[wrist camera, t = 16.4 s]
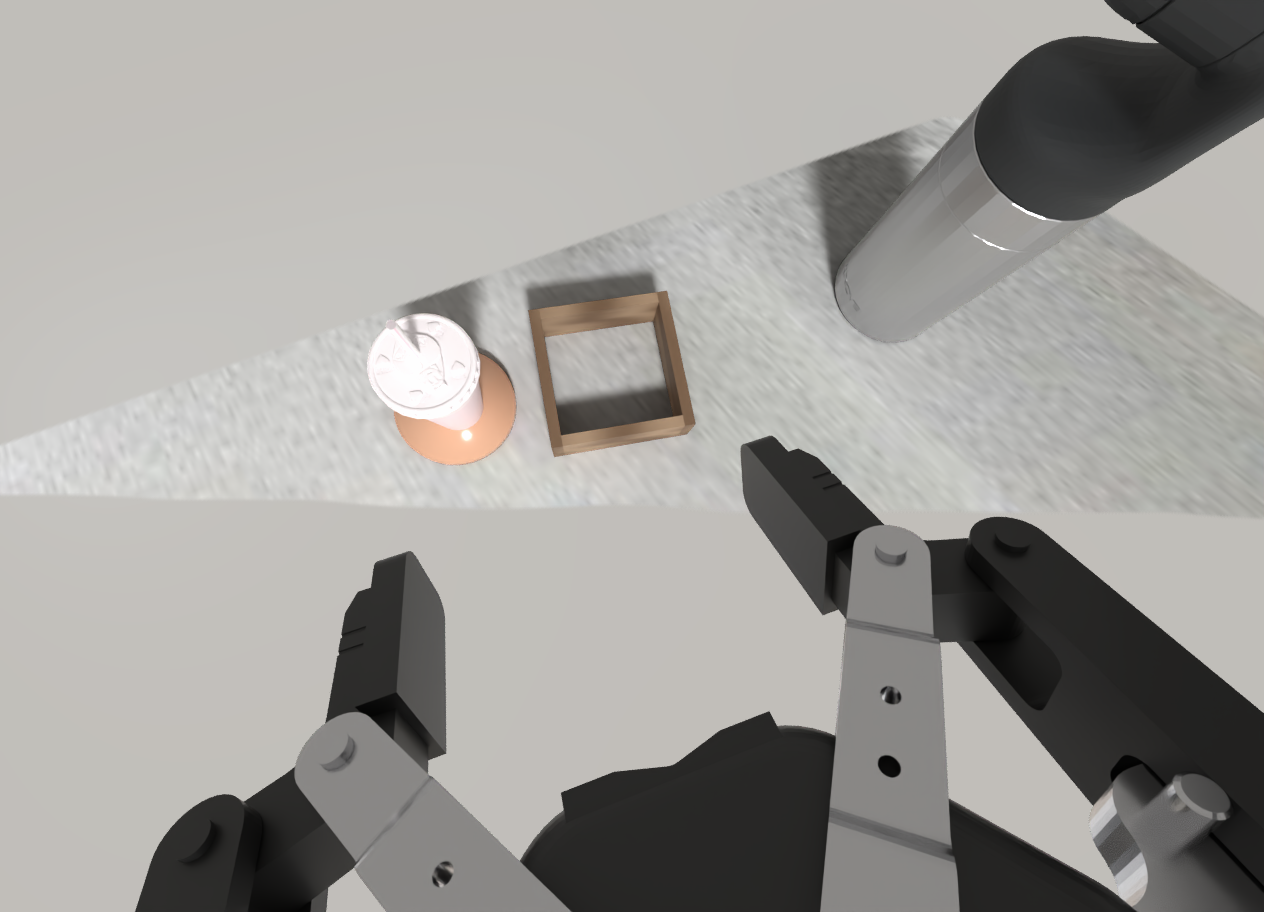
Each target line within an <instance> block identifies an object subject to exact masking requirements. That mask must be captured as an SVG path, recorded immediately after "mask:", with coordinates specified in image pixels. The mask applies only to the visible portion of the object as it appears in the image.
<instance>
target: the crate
mask: <svg viewBox="0 0 1264 912" xmlns="http://www.w3.org/2000/svg"><path fill="white" fill-rule="evenodd" d="M528 311H529V317H530V323H531V329H532V335H533V341H534V347H535V352H536V358H537V364H538V370H539V376H540V382H541V388H542V394H543V400H544V406H545V411H546V417H547V423H548V429H549V435H550V441H551V447H552V451H553V454H554V457H557V456H563V455H568V454H574V453H580V452H586V451H592V450H598V449H603V448H609V447H615V446H621V445H627V444H633V443H639V442H644V441H650V440H656V439H662V438H668V437H674V436H679V435H685V434H687V433H688V432H689V431H690V430H691V429H692V427H693V426H694V425H695V419H694V414H693V410H692V405H691V400H690V396H689V391H688V386H687V382H686V377H685V372H684V368H683V363H682V358H681V354H680V349H679V345H678V340H677V335H676V331H675V326H674V321H673V317H672V312H671V307H670V303H669V298H668V293H667V291H662V292H655V293H648V294H641V295H634V296H626V297H619V298H612V299H605V300H598V301H591V302H583V303H576V304H569V305H562V306H555V307H548V308H540V309H533V310H528ZM652 321H653V323H654V327H655V332H656V337H657V342H658V347H659V351H660V356H661V361H662V366H663V371H664V375H665V380H666V385H667V390H668V395H669V399H670V404H671V409H672V414H673V417H669V418H663V419H657V420H651V421H645V422H639V423H633V424H627V425H621V426H615V427H609V428H603V429H597V430H591V431H585V432H579V433H573V434H567V435H561V431H560V425H559V420H558V414H557V408H556V402H555V397H554V391H553V385H552V379H551V373H550V368H549V362H548V356H547V350H546V345H545V339H544V337H549V336H555V335H562V334H569V333H576V332H583V331H590V330H597V329H603V328H610V327H617V326H624V325H631V324H638V323H645V322H652Z"/></svg>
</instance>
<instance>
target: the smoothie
mask: <svg viewBox="0 0 1264 912" xmlns="http://www.w3.org/2000/svg"><path fill="white" fill-rule="evenodd" d="M367 371H368V376H369V380H370V383H371V385H372V387H373V389H374V391H375V392H376V394H377V395H378V396H379V397H380V398H381V399H382V400H383V401H384V402H385V403H386V404H387V405H388V406H389V407H390V408H391V409H393V410H394V411H396V412H398V413H400V414H401V415H404V416H408V417H412V418H415V419H427V420H429V421H432V422H434V423H436V424H439V425H441V426H444V427H446V428H448V429H451V430H464V429H467V428H470V427H471V426H473V425H474V424H475V423H477V421H478V420H479V419H480V417H481V415H482V412H483V399H482V394H481V389H480V384H479V376H480V359H479V355H478V351H477V348H476V346H475V345H474V343H473V341H472V340H471V338H470V337H469V336H468V334H467V333H466V332H465V331H464V329H462V328H461V327H460V326H459V325H458V324H457V323H455V322H454V321H452V320H450V319H448V318H446V317H443V316H440V315H436V314H429V313H418V314H412V315H408V316H404V317H402V318H399V319H397V320H388V321H387V322H386V327H385V328H384V329H383V330H382V331H381V332H380V333H379V335H378V336H377V337H376V339H375V340H374V342H373V344H372V346H371V348H370V351H369V355H368V360H367Z"/></svg>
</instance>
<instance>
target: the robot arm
mask: <svg viewBox="0 0 1264 912" xmlns="http://www.w3.org/2000/svg"><path fill="white" fill-rule="evenodd" d="M1104 1H1105V2H1106V3H1107V4H1108V5H1109V6H1110V7H1111V8H1112V9H1113V10H1114V11H1115V12H1116V13H1118V14H1119V15H1120V16H1122V17H1123V18H1124V19H1127V20H1129V21H1130V22H1131V23H1132V24H1135V23H1136V27H1137V28H1138V29H1140V30H1141V31H1143V32H1144V33H1146V34H1147V35H1148V36H1150V37H1151V38H1153V39H1154V40H1156V41H1157V42H1159V43H1139V42H1129V41H1122V40H1115V39H1107V38H1101V37H1088V36H1082V37H1068V38H1063V39H1058V40H1055V41H1051V42H1049V43H1046V44H1044V45H1041V46H1039V47H1037V48H1036V49H1034V50H1033V51H1031V52H1030V53H1028V54H1027V55H1025V56H1024V57H1023V58H1021V59H1020V60H1019V61H1018V62H1017V63H1016V64H1015V65H1014V66H1013V67H1012V68H1011V69H1010V70H1009V71H1008V72H1007V73H1006V74H1005V75H1004V77H1003V78H1002V79H1001V80H1000V81H999V82H998V83H997V85H996V86H995V87H994V88H993V89H992V90H991V91H990V93H989V94H988V95H987V96H986V97H985V98H984V99H983V101H982V102H981V103H980V104H979V105H978V106H977V107H976V109H975V110H974V111H973V112H972V113H971V114H970V116H969V117H968V118H967V119H966V120H965V121H964V122H963V123H962V125H961V126H960V127H959V128H958V129H957V130H956V131H955V133H954V134H953V135H952V136H951V137H950V139H949V140H948V141H947V142H946V143H945V144H944V145H943V147H942V148H941V149H940V150H939V151H938V152H937V154H936V155H935V156H934V157H933V158H932V159H931V160H930V162H929V163H928V164H927V165H926V166H925V167H924V168H923V170H922V171H921V172H920V173H919V174H918V175H917V176H916V178H915V179H914V180H913V181H912V182H911V183H910V184H909V186H908V187H907V188H906V189H905V190H904V191H903V192H902V194H901V195H900V196H899V197H898V198H897V199H896V201H895V202H894V203H893V204H892V205H891V206H890V207H889V209H888V210H887V211H886V212H885V213H884V214H883V215H882V217H881V218H880V219H879V220H878V221H877V222H876V223H875V225H874V226H873V227H872V228H871V229H870V230H869V231H868V232H867V234H866V235H865V236H864V237H863V238H862V239H861V241H860V242H859V243H858V244H857V245H856V246H855V247H854V249H853V250H852V251H851V252H850V253H849V254H848V255H847V257H846V258H845V259H844V260H843V262H842V263H841V265H840V267H839V269H838V272H837V275H836V279H835V293H836V299H837V302H838V304H839V307H840V310H841V311H842V313H843V314H844V316H845V318H846V319H847V320H848V321H849V322H850V323H851V324H852V326H853V327H854V328H856V329H857V330H858V331H860V332H861V333H863V334H864V335H866V336H868V337H870V338H873V339H875V340H879V341H883V342H901V341H907V340H909V339H912V338H914V337H916V336H918V335H919V334H921V333H922V332H924V331H925V330H927V329H928V328H930V327H931V326H933V325H934V324H936V323H937V322H939V321H940V320H942V319H944V318H945V317H947V316H948V315H950V314H951V313H953V312H954V311H956V310H957V309H959V308H960V307H962V306H963V305H965V304H967V303H968V302H970V301H971V300H973V299H974V298H976V297H977V296H979V295H980V294H982V293H983V292H985V291H986V290H988V289H989V288H991V287H992V286H994V285H995V284H997V283H998V282H1000V281H1001V280H1003V279H1004V278H1006V277H1007V276H1009V275H1010V274H1012V273H1013V272H1015V271H1016V270H1018V269H1019V268H1021V267H1022V266H1024V265H1025V264H1027V263H1028V262H1030V261H1031V260H1033V259H1034V258H1036V257H1037V256H1039V255H1040V254H1042V253H1043V252H1045V251H1046V250H1048V249H1049V248H1051V247H1052V246H1054V245H1055V244H1057V243H1059V242H1060V241H1061V240H1063V239H1064V238H1066V237H1067V236H1069V235H1070V234H1072V233H1073V232H1075V231H1076V230H1078V229H1079V228H1081V227H1082V226H1084V225H1085V224H1087V223H1088V222H1090V221H1091V220H1093V219H1094V218H1096V217H1097V216H1099V215H1100V214H1102V213H1103V212H1105V211H1106V210H1108V209H1109V208H1111V207H1112V206H1114V205H1115V204H1117V203H1118V202H1120V201H1121V200H1123V199H1125V198H1127V197H1130V196H1132V195H1134V194H1137V193H1139V192H1141V191H1143V190H1145V189H1147V188H1149V187H1151V186H1152V185H1154V184H1156V183H1157V182H1159V181H1161V180H1162V179H1164V178H1166V177H1167V176H1169V175H1170V174H1172V173H1174V172H1175V171H1177V170H1178V169H1180V168H1181V167H1183V166H1185V165H1186V164H1188V163H1189V162H1191V161H1192V160H1194V159H1196V158H1197V157H1199V156H1201V155H1202V154H1204V153H1205V152H1207V151H1209V150H1210V149H1212V148H1214V147H1215V146H1217V145H1219V144H1220V143H1222V142H1224V141H1225V140H1227V139H1229V138H1230V137H1232V136H1234V135H1235V134H1237V133H1239V132H1240V131H1242V130H1243V129H1245V128H1247V127H1248V126H1250V125H1252V124H1254V123H1255V122H1257V121H1259V120H1260V119H1262V118H1264V0H1104ZM741 466H742V481H743V494H744V498H745V502H746V505H747V507H748V509H749V511H750V513H751V515H752V516H753V518H754V519H755V521H756V522H757V524H758V525H759V526H760V528H761V529H762V530H763V532H764V533H765V535H766V536H767V538H768V539H769V540H770V542H771V543H772V545H773V546H774V547H775V549H776V550H777V551H778V553H779V554H780V556H781V557H782V559H783V560H784V561H785V563H786V564H787V566H788V567H789V568H790V570H791V571H792V573H793V574H794V575H795V577H796V578H797V580H798V581H799V582H800V584H801V585H802V586H803V588H804V589H805V591H806V592H807V594H808V595H809V597H810V598H811V599H812V601H813V602H814V604H815V605H816V606H817V608H818V609H819V611H820V612H821V613H822V615H825V614H827V613H830V612H833V611H835V610H838V609H839V611H840V612H841V613H842V615H844V617H845V618H846V624H845V634H844V646H843V656H842V666H841V677H840V688H839V699H838V708H837V719H836V729H835V736H834V735H832V734H829V733H827V732H824V731H820V730H817V729H813V728H808V727H802V726H786V725H785V726H777V725H776V723H775V721H774V719H773V717H772V716H771V714H770V712H766V713H764V714H761V715H758V716H756V717H753V718H751V719H748V720H746V721H743V722H740V723H738V724H735V725H733V726H730V727H728V728H725V729H723V730H720V731H719V732H717V733H716V734H715V735H713V736H712V737H711V738H709V739H708V740H707V741H706V742H704V743H703V744H701V745H700V746H699V747H698V748H696V749H695V750H693V751H692V752H691V753H689V754H688V755H687V756H685V757H684V758H683V759H681V760H680V761H679V762H677V763H676V764H674V765H671V766H667V767H658V768H649V769H638V770H628V771H619V772H613V773H610V774H608V775H605V776H602V777H600V778H597V779H595V780H592V781H590V782H587V783H585V784H582V785H580V786H577V787H574V788H572V789H569V790H567V791H564V792H562V793H561V795H562V802H563V808H564V810H563V811H562V812H561V813H559V814H558V815H557V816H556V817H555V818H553V819H552V820H551V821H550V822H549V823H548V824H547V825H546V826H545V827H544V828H543V829H542V830H541V832H540V833H539V834H538V835H537V836H536V837H535V839H534V840H533V841H532V843H531V844H530V846H529V847H528V849H527V850H526V852H525V853H524V855H523V857H522V858H521V860H520V861H519V860H518V859H517V858H516V857H515V856H513V855H512V853H511V852H510V851H508V850H507V849H506V848H505V847H504V846H503V845H502V844H501V843H500V842H499V841H498V840H497V839H496V838H495V837H494V836H493V835H492V834H491V833H490V832H489V831H488V830H487V829H486V828H485V827H484V826H483V825H482V824H481V823H480V822H479V821H478V820H477V819H475V818H474V817H473V815H472V814H470V813H469V812H468V811H467V810H466V809H465V808H464V807H463V806H462V805H461V804H460V803H459V802H458V801H457V800H456V799H455V798H454V797H453V796H452V795H451V794H450V793H449V792H448V791H447V790H446V789H445V788H444V787H443V786H442V785H441V784H439V782H437V781H436V780H435V779H434V778H433V777H431V776H429V775H428V760H430V759H433V758H435V757H438V756H441V755H443V754H446V687H445V686H446V682H445V681H446V679H445V616H444V610H443V606H442V602H441V599H440V597H439V595H438V593H437V591H436V589H435V588H434V586H433V584H432V583H431V581H430V579H429V578H428V576H427V574H426V573H425V571H424V569H423V568H422V566H421V564H420V563H419V561H418V559H417V558H416V556H415V555H414V554H413V553H412V552H411V551H408V552H405V553H402V554H399V555H396V556H393V557H390V558H387V559H384V560H380V561H377V562H376V563H375V565H374V569H373V577H372V584H371V588H369V589H365V590H362V591H359V592H358V593H357V594H356V596H355V598H354V599H353V601H352V603H351V604H350V606H349V608H348V609H347V611H346V613H345V617H344V622H343V628H342V638H341V639H340V645H339V656H337V662H336V668H335V673H334V679H333V684H332V690H331V696H330V702H329V708H328V713H327V718H326V722H325V724H324V725H322V726H321V727H320V728H319V729H318V730H317V731H316V732H315V733H314V734H313V735H312V736H311V737H310V739H309V740H308V741H307V742H306V743H305V745H304V747H303V748H302V750H301V752H300V754H299V756H298V759H297V762H296V766H295V767H294V768H293V769H292V770H290V771H289V772H288V773H286V774H285V775H283V776H282V777H280V778H279V779H277V780H276V781H275V782H273V783H272V784H270V785H268V786H267V787H265V788H264V789H262V790H261V791H259V792H258V793H256V794H255V795H253V796H252V797H251V798H249V799H247V800H246V801H244V802H243V801H241V800H240V799H238V798H237V797H235V796H233V795H226V794H223V795H217V796H214V797H211V798H209V799H207V800H205V801H202V802H201V803H199V804H198V805H196V806H194V807H193V808H192V809H190V810H189V811H188V812H187V813H185V814H184V815H183V816H182V817H181V818H180V819H179V820H178V821H177V822H176V823H175V824H174V825H173V826H172V827H171V828H170V830H169V831H168V832H167V834H166V835H165V836H164V838H163V839H162V841H161V842H160V844H159V846H158V847H157V850H156V851H155V853H154V856H153V858H152V861H151V864H150V867H149V870H148V873H147V876H146V880H145V883H144V886H143V889H142V892H141V895H140V898H139V901H138V905H137V908H136V911H135V912H326V907H327V895H328V887H329V886H330V885H332V884H333V883H335V882H336V881H337V880H339V878H341V877H342V876H344V875H345V874H346V873H347V872H349V871H350V870H352V869H353V868H355V870H356V872H357V874H358V875H359V877H360V878H361V879H362V881H363V882H364V883H365V885H366V886H367V887H368V888H369V890H370V891H371V892H372V894H373V895H374V896H375V898H376V899H377V900H378V902H379V903H380V904H381V906H382V907H383V908H384V909H385V911H386V912H1264V713H1263V712H1261V711H1260V710H1259V709H1258V708H1257V707H1256V706H1254V705H1253V704H1252V703H1251V702H1249V701H1248V700H1247V699H1246V698H1245V697H1243V696H1242V695H1241V694H1240V693H1239V692H1237V691H1236V690H1235V689H1234V688H1232V687H1231V686H1230V685H1229V684H1228V683H1226V682H1225V681H1224V680H1223V679H1222V678H1220V677H1219V676H1218V675H1217V674H1215V673H1214V672H1213V671H1212V670H1210V669H1209V668H1208V667H1207V666H1206V665H1204V664H1203V663H1202V662H1201V661H1200V660H1198V659H1197V658H1196V657H1195V656H1193V655H1192V654H1191V653H1190V652H1189V651H1187V650H1186V649H1185V648H1184V647H1183V646H1181V645H1180V644H1179V643H1178V642H1176V641H1175V640H1174V639H1173V638H1172V637H1170V636H1169V635H1168V634H1167V633H1166V632H1164V631H1163V630H1162V629H1161V628H1159V627H1158V626H1157V625H1156V624H1155V623H1153V622H1152V621H1151V620H1150V619H1149V618H1147V617H1146V616H1145V615H1144V614H1143V613H1141V612H1140V611H1139V610H1138V609H1136V608H1135V607H1134V606H1133V605H1132V604H1130V603H1129V602H1128V601H1127V600H1126V599H1124V598H1123V597H1122V596H1121V595H1119V594H1118V593H1117V592H1116V591H1115V590H1113V589H1112V588H1111V587H1110V586H1109V585H1107V584H1106V583H1105V582H1103V581H1102V580H1101V579H1100V578H1099V577H1098V576H1096V575H1095V574H1094V573H1093V572H1091V571H1090V570H1089V569H1088V568H1087V567H1085V566H1084V565H1083V564H1082V563H1081V562H1079V561H1078V560H1077V559H1076V558H1075V557H1073V556H1072V555H1071V554H1070V553H1068V552H1067V551H1066V550H1065V549H1063V548H1062V547H1061V546H1060V545H1059V544H1058V543H1056V542H1055V541H1054V540H1053V539H1051V538H1050V537H1049V536H1048V535H1047V534H1045V533H1044V532H1043V531H1041V530H1040V529H1039V528H1037V527H1035V526H1033V525H1032V524H1029V523H1027V522H1024V521H1021V520H1018V519H1014V518H1008V517H991V518H986V519H983V520H981V521H979V522H977V523H976V524H975V525H974V526H973V527H972V529H971V531H970V535H969V538H963V539H949V540H931V541H927V540H922V539H921V538H920V537H918V536H917V535H916V534H914V533H913V532H911V531H908V530H906V529H904V528H900V527H897V526H890V525H884V524H883V523H882V522H881V521H880V520H879V519H878V518H877V517H876V516H875V515H874V514H873V513H872V512H871V511H870V510H869V509H868V508H867V507H866V506H865V505H864V504H863V503H862V502H861V501H860V500H859V499H858V498H857V497H856V496H855V495H854V494H853V493H852V492H851V491H850V490H849V489H848V488H847V487H846V486H845V485H842V483H841V481H840V480H839V479H838V478H837V477H836V476H835V475H834V474H831V471H830V470H829V469H828V468H827V467H826V466H825V465H824V464H823V463H822V462H821V461H820V460H819V459H818V458H817V457H815V456H813V455H811V454H809V453H806V452H804V451H802V450H800V449H795V450H792V451H789V452H788V451H787V450H786V449H785V448H784V447H783V446H782V445H781V443H780V442H779V441H778V440H777V439H776V438H775V437H773V436H768V437H765V438H761V439H758V440H755V441H752V442H749V443H746V444H743V445H742V446H741ZM940 642H957V643H959V645H960V646H961V647H962V648H963V650H964V651H965V652H966V653H967V654H968V656H969V657H970V658H971V659H972V661H973V662H974V663H975V664H976V665H977V667H978V668H979V669H980V670H981V671H982V673H983V674H984V675H985V676H986V677H987V679H988V680H989V681H990V682H991V683H992V685H993V686H994V687H995V688H996V689H997V690H998V692H999V693H1000V694H1001V695H1002V697H1003V698H1004V699H1005V700H1006V701H1007V703H1008V704H1009V705H1010V706H1011V708H1012V709H1013V710H1014V711H1015V712H1016V714H1017V715H1018V716H1019V717H1020V718H1021V719H1022V721H1023V722H1024V723H1025V724H1026V726H1027V727H1028V728H1029V729H1030V730H1031V732H1032V733H1033V734H1034V735H1035V736H1036V738H1037V739H1038V740H1039V741H1040V742H1041V744H1042V745H1043V746H1044V747H1045V748H1046V750H1047V751H1048V752H1049V753H1050V755H1051V756H1052V757H1053V758H1054V759H1055V760H1056V762H1057V763H1058V764H1059V765H1060V767H1061V768H1062V769H1063V770H1064V771H1065V773H1066V774H1067V775H1068V776H1069V777H1070V779H1071V780H1072V781H1073V782H1074V783H1075V784H1076V786H1077V787H1078V788H1079V789H1080V791H1081V792H1082V793H1083V794H1084V795H1085V797H1086V798H1087V799H1088V800H1089V801H1090V803H1091V804H1092V805H1093V807H1092V809H1091V812H1090V815H1089V826H1090V832H1091V835H1092V838H1093V841H1094V843H1095V845H1096V847H1097V849H1098V850H1099V852H1100V853H1101V855H1102V857H1103V858H1104V860H1105V861H1106V863H1107V865H1108V867H1109V868H1110V870H1111V872H1112V874H1113V876H1114V878H1115V881H1116V884H1117V888H1118V894H1119V896H1118V895H1116V894H1115V893H1114V892H1112V891H1111V890H1109V889H1108V888H1106V887H1105V886H1103V885H1102V884H1100V883H1099V882H1097V881H1095V880H1093V879H1092V878H1090V877H1088V876H1086V875H1085V874H1083V873H1081V872H1079V871H1077V870H1076V869H1074V868H1072V867H1070V866H1068V865H1067V864H1065V863H1063V862H1061V861H1059V860H1058V859H1056V858H1054V857H1052V856H1051V855H1049V854H1047V853H1045V852H1043V851H1042V850H1040V849H1038V848H1036V847H1034V846H1033V845H1031V844H1029V843H1027V842H1026V841H1024V840H1022V839H1020V838H1018V837H1017V836H1015V835H1013V834H1011V833H1009V832H1008V831H1006V830H1004V829H1002V828H1000V827H999V826H997V825H995V824H993V823H992V822H990V821H988V820H986V819H985V818H983V817H981V816H979V815H977V814H975V813H974V812H972V811H970V810H969V809H966V808H965V807H963V806H961V805H960V804H958V803H956V802H954V801H952V800H951V799H949V798H948V779H947V760H946V740H945V722H944V701H943V683H942V662H941V647H940Z"/></svg>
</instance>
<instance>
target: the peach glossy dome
mask: <svg viewBox="0 0 1264 912" xmlns="http://www.w3.org/2000/svg"><path fill="white" fill-rule="evenodd" d="M478 355H479V359H480V376H479V384H480V389H481V394H482V399H483V412H482V415H481V417H480V419H479V420H478V421H477V423H475V424H474V425H473V426H471V427H470V428H467V429H464V430H451V429H448V428H446V427H444V426H441V425H439V424H436V423H434V422H432V421H429V420H427V419H415V418H412V417H408V416H404V415H401V414H400V413H398V412H396V411H394V416H395V421H396V424H397V427H398V430H399V432H400V434H401V436H402V437H403V438H404V440H405V441H406V443H407V444H408V445H409V446H410V447H411V448H412V449H414V450H415V451H416V452H417V453H419V454H421V455H422V456H424V457H426V458H427V459H429V460H432V461H434V462H438V463H441V464H447V465H463V464H469V463H473V462H476V461H478V460H481V459H483V458H485V457H487V456H488V455H490V454H491V453H493V452H494V451H495V450H496V449H498V448H499V447H500V446H501V445H502V443H503V442H504V441H505V440H506V438H507V437H508V435H509V433H510V431H511V429H512V427H513V424H514V421H515V416H516V398H515V393H514V390H513V387H512V385H511V382H510V380H509V379H508V377H507V375H506V374H505V372H504V371H503V370H502V369H501V368H500V367H499V365H498V364H496V363H495V362H494V361H493V360H491V359H490V358H488V357H486V356H485V355H482V354H480V353H478Z"/></svg>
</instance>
